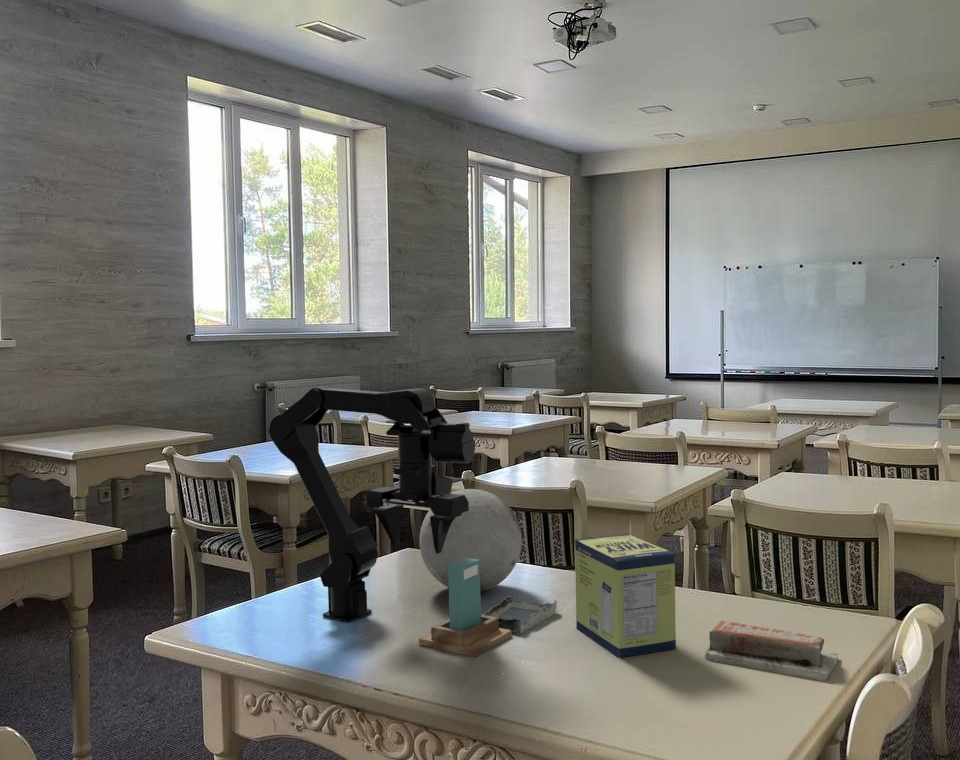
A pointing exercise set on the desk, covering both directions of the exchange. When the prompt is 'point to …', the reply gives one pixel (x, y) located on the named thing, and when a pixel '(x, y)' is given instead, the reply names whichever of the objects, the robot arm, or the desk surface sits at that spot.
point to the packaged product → (770, 650)
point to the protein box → (625, 594)
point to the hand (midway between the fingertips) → (417, 549)
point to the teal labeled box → (464, 594)
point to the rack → (466, 637)
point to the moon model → (476, 539)
